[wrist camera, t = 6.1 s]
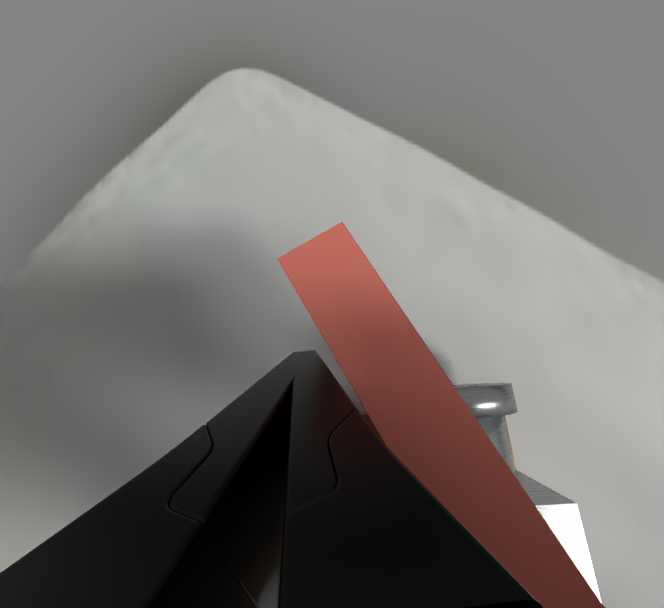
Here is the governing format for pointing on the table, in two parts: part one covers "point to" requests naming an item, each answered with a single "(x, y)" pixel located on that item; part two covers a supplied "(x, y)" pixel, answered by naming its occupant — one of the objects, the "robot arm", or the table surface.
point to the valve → (556, 509)
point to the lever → (428, 416)
